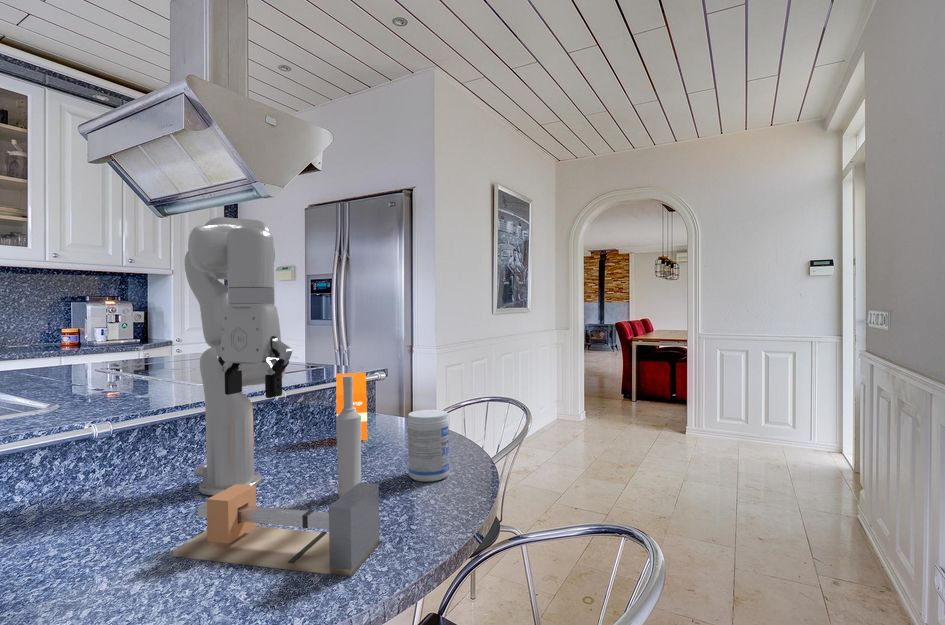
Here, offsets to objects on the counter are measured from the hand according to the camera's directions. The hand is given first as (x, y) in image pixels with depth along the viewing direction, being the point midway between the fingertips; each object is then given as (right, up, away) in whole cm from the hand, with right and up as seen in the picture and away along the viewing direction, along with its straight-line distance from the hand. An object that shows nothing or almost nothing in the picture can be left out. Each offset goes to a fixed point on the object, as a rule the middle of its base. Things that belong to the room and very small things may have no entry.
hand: (253, 395), depth 86 cm
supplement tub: (+29, -24, +27) cm, 46 cm away
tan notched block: (-1, -22, -5) cm, 23 cm away
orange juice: (+3, -24, +61) cm, 65 cm away
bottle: (+13, -24, +16) cm, 32 cm away
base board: (+8, -24, -7) cm, 26 cm away
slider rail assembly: (+8, -24, -7) cm, 26 cm away
